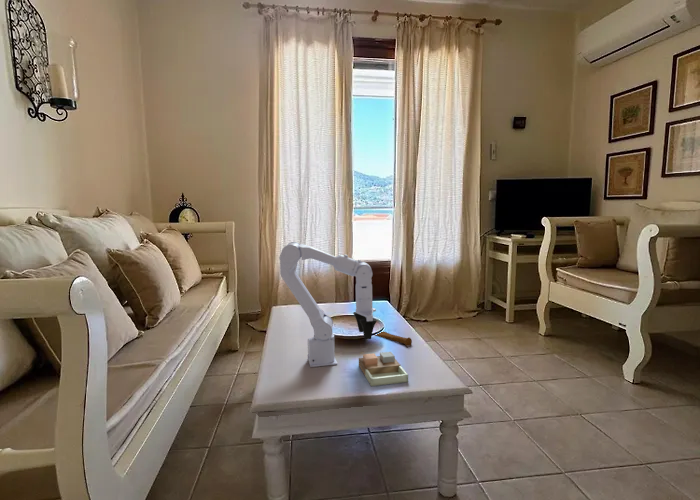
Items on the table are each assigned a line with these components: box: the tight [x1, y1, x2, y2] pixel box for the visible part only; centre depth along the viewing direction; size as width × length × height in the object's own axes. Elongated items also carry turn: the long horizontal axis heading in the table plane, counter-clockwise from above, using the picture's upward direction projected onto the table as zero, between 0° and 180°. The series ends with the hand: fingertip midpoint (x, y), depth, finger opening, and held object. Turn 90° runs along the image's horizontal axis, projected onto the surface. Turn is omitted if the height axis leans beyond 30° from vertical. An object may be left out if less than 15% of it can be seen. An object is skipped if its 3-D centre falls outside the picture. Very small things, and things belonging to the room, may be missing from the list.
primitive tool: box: [375, 330, 413, 347], centre depth 161 cm, size 19×6×4 cm, turn 40°
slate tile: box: [379, 351, 396, 363], centre depth 134 cm, size 4×4×2 cm
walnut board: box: [358, 355, 402, 376], centre depth 133 cm, size 12×9×3 cm
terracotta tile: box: [362, 352, 378, 365], centre depth 133 cm, size 4×4×2 cm
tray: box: [364, 365, 409, 387], centre depth 125 cm, size 12×7×2 cm, turn 103°
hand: (365, 335), depth 139 cm, fingers open, 7 cm apart
